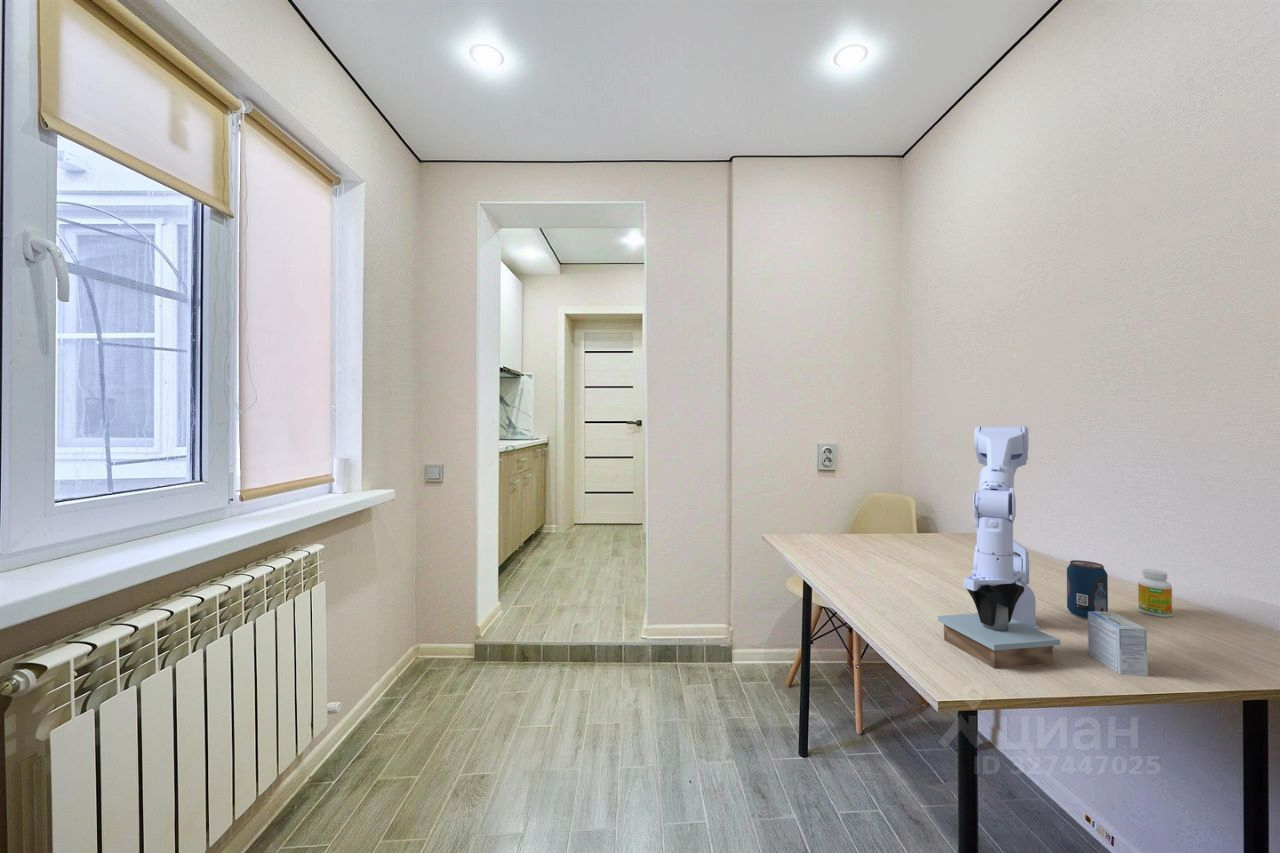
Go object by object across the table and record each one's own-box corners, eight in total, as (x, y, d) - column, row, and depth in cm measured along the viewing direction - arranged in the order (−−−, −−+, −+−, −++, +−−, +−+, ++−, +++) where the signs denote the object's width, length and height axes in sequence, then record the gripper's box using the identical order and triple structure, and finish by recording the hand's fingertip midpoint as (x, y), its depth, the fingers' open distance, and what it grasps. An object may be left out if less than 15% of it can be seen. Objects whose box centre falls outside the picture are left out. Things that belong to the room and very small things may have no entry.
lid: (996, 620, 102) (996, 592, 102) (1060, 649, 89) (1060, 617, 89) (937, 624, 100) (937, 596, 100) (994, 655, 87) (993, 622, 87)
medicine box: (1149, 678, 84) (1148, 628, 84) (1118, 676, 85) (1118, 626, 85) (1114, 657, 92) (1114, 611, 92) (1087, 655, 93) (1086, 610, 93)
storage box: (996, 637, 101) (996, 618, 101) (1053, 665, 89) (1052, 643, 89) (944, 641, 100) (943, 622, 100) (994, 670, 88) (994, 648, 88)
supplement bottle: (1146, 615, 112) (1146, 573, 112) (1133, 607, 117) (1132, 566, 117) (1178, 618, 110) (1177, 575, 110) (1163, 610, 115) (1162, 569, 115)
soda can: (1072, 608, 117) (1072, 557, 117) (1112, 617, 111) (1111, 564, 111) (1062, 614, 113) (1062, 562, 113) (1102, 624, 107) (1102, 569, 107)
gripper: (998, 544, 101) (999, 609, 101) (948, 550, 96) (949, 620, 96) (1036, 552, 94) (1037, 622, 94) (984, 560, 89) (985, 634, 89)
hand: (995, 622), depth 94 cm, fingers open, 4 cm apart
